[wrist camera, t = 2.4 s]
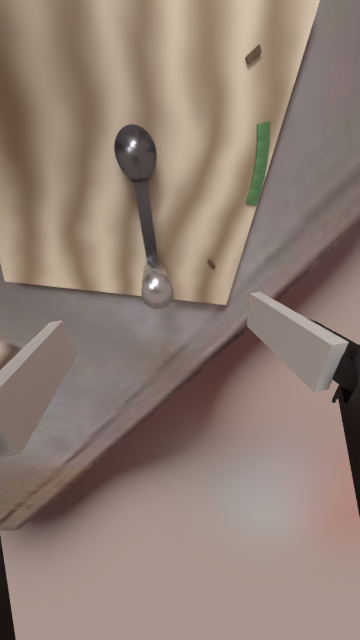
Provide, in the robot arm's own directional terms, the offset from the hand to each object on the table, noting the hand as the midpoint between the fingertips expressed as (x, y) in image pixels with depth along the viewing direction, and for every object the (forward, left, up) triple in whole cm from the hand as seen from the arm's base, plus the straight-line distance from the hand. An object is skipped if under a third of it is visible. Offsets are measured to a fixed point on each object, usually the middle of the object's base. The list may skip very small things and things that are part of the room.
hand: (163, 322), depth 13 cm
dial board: (-4, +13, -19) cm, 23 cm away
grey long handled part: (-2, +7, -17) cm, 18 cm away
